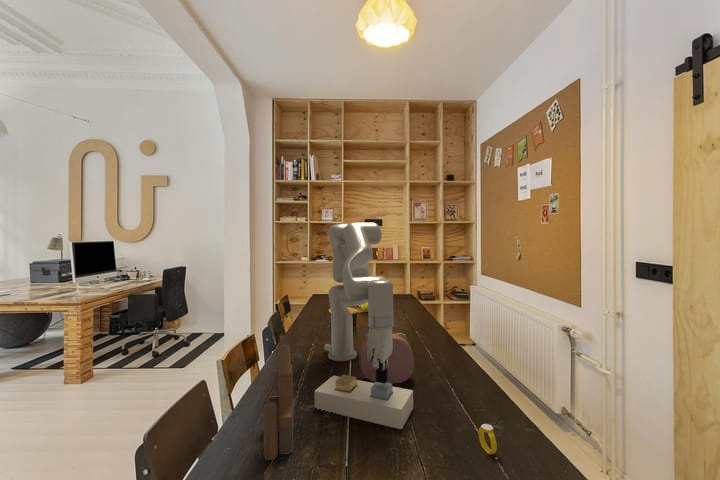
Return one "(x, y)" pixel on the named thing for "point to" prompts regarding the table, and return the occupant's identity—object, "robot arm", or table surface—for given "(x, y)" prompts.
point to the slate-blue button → (381, 390)
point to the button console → (365, 403)
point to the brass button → (346, 383)
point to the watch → (489, 430)
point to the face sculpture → (390, 360)
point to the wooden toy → (280, 411)
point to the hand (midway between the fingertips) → (381, 381)
